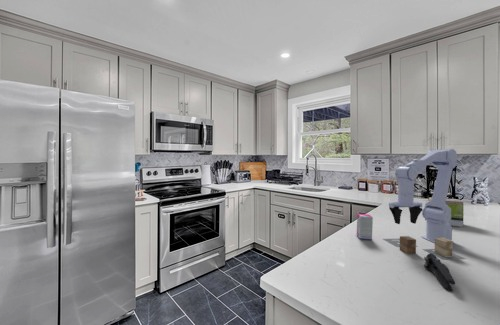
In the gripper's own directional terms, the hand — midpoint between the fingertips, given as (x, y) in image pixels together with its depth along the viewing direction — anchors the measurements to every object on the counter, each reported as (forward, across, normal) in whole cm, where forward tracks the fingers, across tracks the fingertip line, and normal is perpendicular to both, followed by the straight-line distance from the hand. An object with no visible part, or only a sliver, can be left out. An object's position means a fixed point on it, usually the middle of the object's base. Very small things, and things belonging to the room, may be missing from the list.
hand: (405, 223), depth 102 cm
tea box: (+11, +52, +31) cm, 61 cm away
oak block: (+10, +9, -10) cm, 17 cm away
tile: (+10, 0, +4) cm, 11 cm away
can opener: (+11, -9, -26) cm, 30 cm away
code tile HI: (+10, +9, -10) cm, 17 cm away
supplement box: (+10, -13, +11) cm, 20 cm away
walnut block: (+10, -4, -6) cm, 13 cm away
